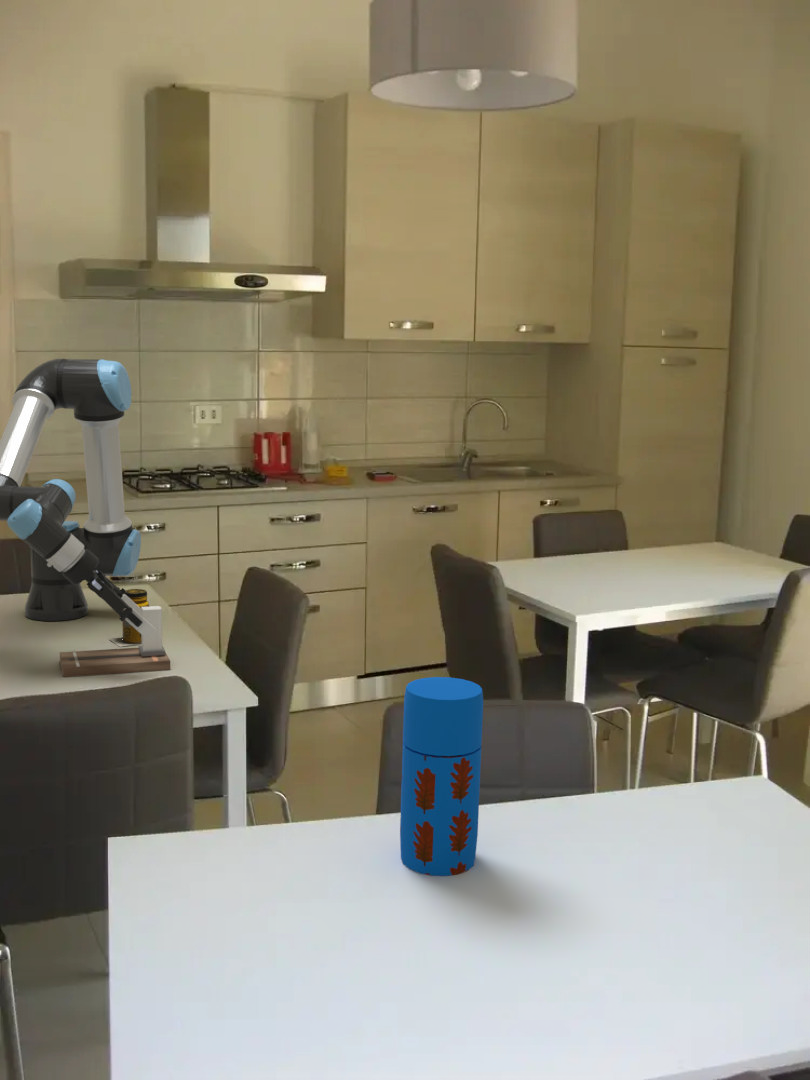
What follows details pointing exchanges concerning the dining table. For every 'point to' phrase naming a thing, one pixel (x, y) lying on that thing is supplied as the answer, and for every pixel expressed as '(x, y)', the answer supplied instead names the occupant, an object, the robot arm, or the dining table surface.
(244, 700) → the dining table surface
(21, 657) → the dining table surface
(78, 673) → the fader track
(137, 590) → the condiment
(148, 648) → the fader tab
